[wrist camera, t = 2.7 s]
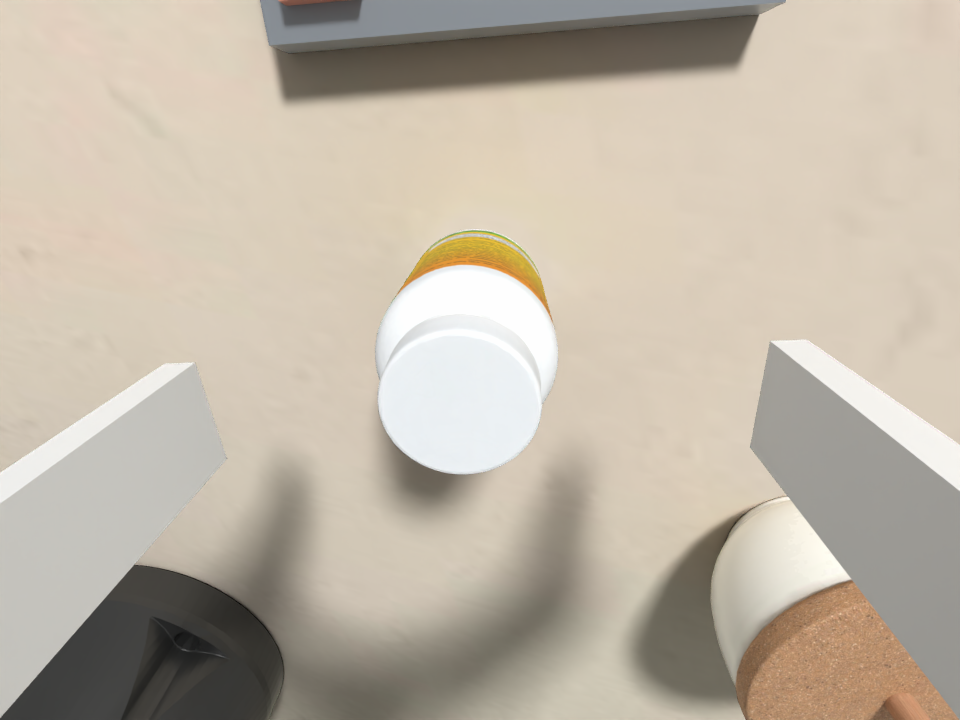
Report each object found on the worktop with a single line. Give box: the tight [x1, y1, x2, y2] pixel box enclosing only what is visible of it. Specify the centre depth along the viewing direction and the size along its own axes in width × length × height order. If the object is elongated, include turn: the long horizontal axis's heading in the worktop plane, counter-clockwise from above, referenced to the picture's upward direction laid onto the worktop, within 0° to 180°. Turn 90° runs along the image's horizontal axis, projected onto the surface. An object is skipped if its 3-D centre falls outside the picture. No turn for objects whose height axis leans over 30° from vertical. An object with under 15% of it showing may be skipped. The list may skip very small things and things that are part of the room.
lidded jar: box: [711, 496, 959, 720], centre depth 21 cm, size 11×11×9 cm
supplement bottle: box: [375, 229, 558, 474], centre depth 16 cm, size 5×5×10 cm
